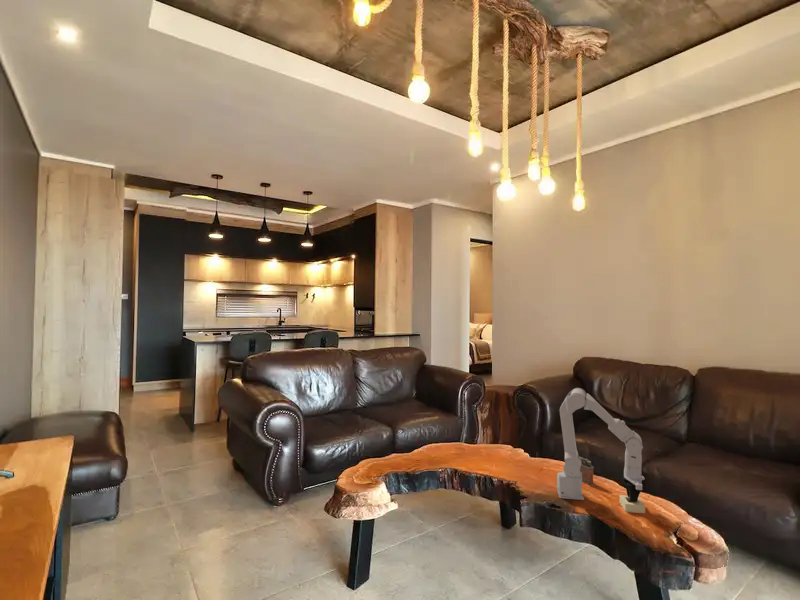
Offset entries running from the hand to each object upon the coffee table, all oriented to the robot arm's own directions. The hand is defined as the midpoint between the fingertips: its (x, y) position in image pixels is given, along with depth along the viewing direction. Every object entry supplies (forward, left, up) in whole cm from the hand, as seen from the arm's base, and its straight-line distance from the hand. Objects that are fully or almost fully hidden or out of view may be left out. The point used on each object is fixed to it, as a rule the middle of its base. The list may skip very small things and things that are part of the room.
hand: (632, 499), depth 165 cm
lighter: (-13, +20, -4) cm, 24 cm away
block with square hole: (0, 0, -3) cm, 3 cm away
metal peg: (0, 0, -3) cm, 3 cm away
